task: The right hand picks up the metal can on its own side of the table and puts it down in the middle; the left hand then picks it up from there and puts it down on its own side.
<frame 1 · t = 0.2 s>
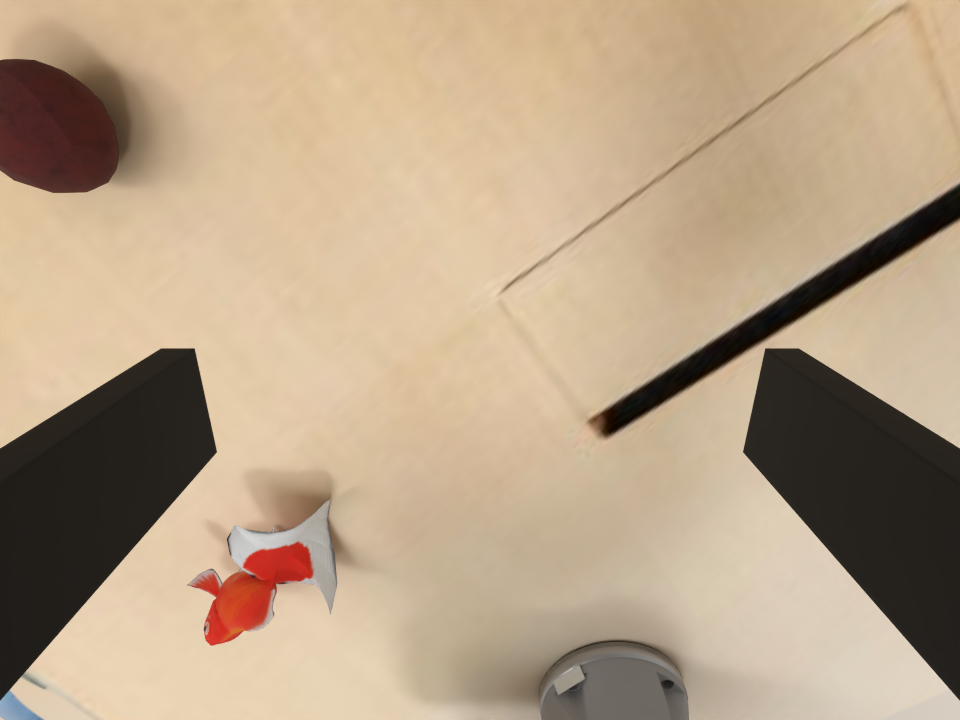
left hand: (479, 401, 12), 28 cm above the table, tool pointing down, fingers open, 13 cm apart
fish: (284, 537, 49), on the table
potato: (88, 133, 36), on the table
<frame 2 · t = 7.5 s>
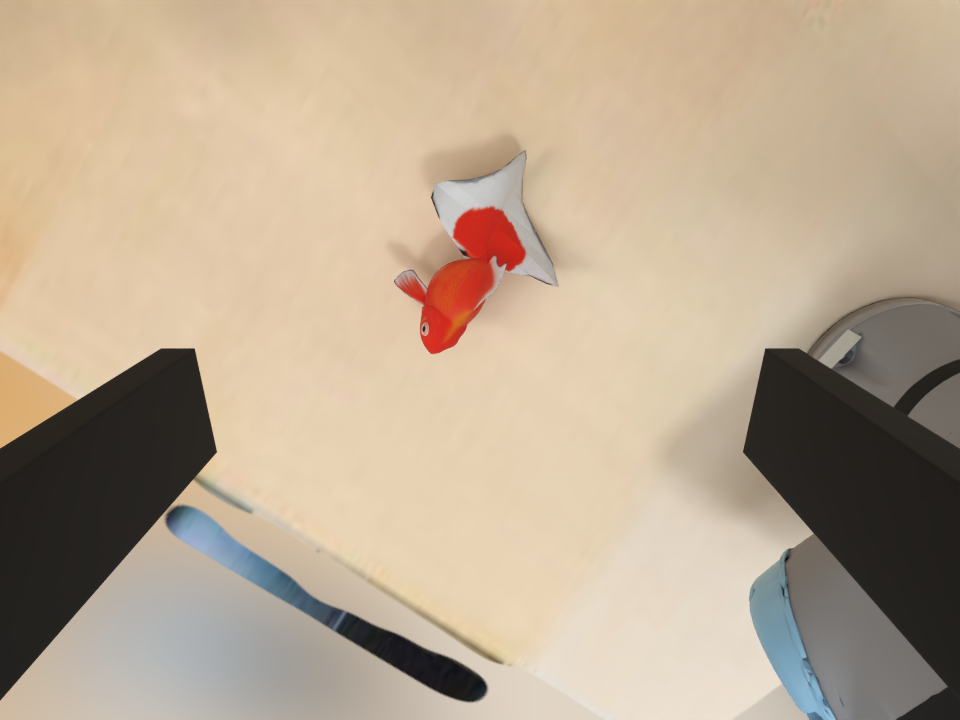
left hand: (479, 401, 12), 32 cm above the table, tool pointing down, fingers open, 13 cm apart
fish: (476, 243, 43), on the table
when the right hand's fingers open (3 cm above the table, at t = 23.3 s): can drops 1 cm, on the table.
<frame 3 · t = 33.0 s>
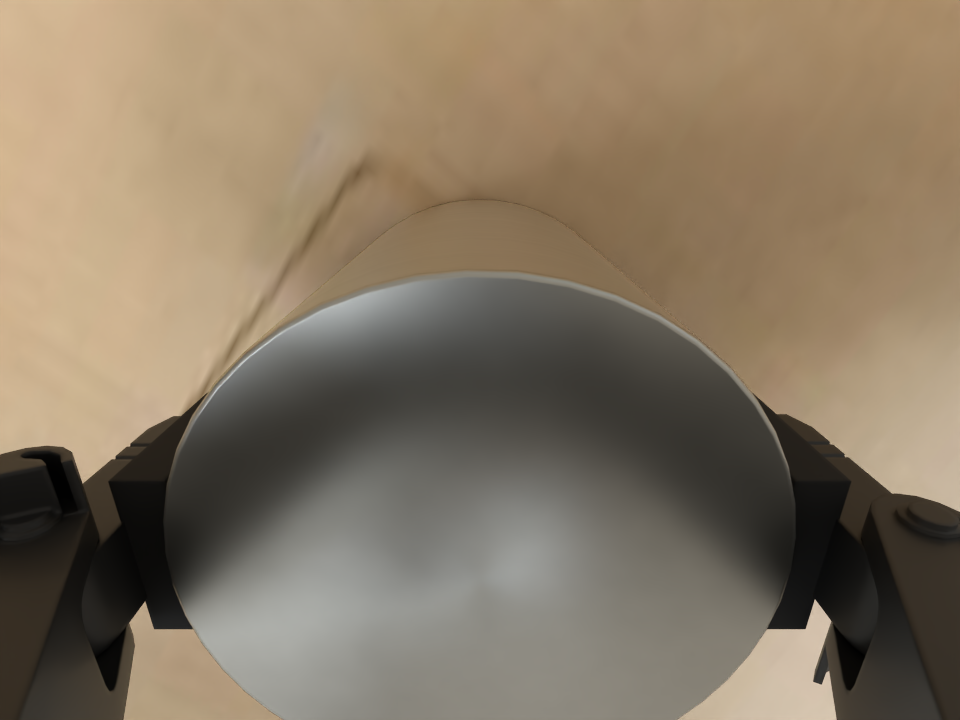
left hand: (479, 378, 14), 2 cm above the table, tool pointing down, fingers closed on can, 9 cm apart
can: (479, 350, 15), on the table, touching left hand
when the left hand's fingers open (3 cm above the table, at t = 38.9 s): can drops 1 cm, on the table.
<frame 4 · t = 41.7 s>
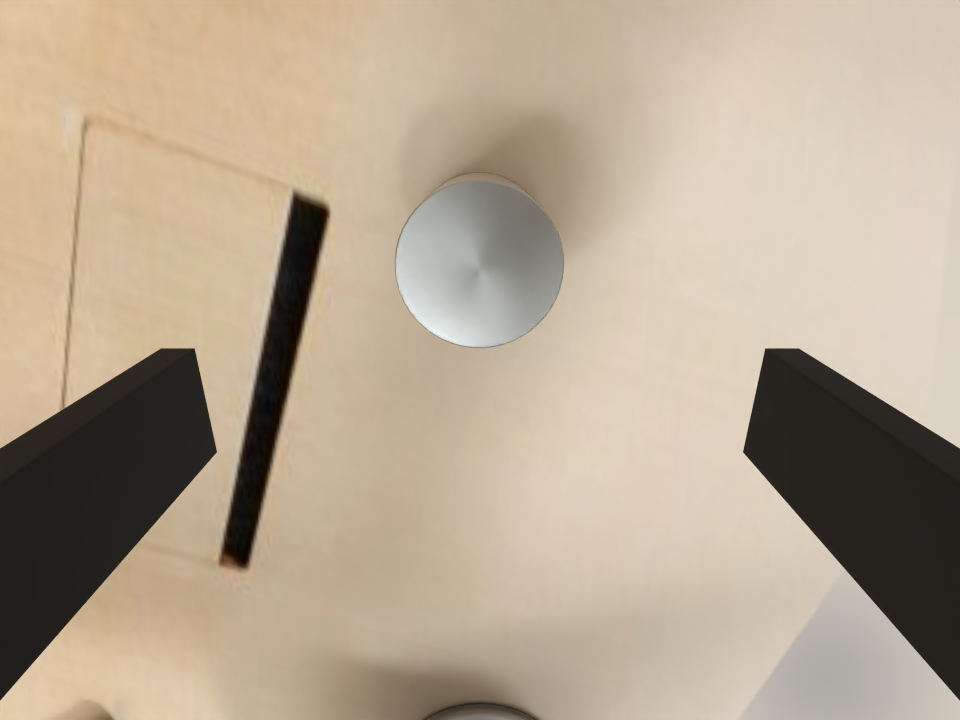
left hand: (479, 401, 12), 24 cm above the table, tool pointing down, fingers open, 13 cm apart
can: (479, 240, 35), on the table
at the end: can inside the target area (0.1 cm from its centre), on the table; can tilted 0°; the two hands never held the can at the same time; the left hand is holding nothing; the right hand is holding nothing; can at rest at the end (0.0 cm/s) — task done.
